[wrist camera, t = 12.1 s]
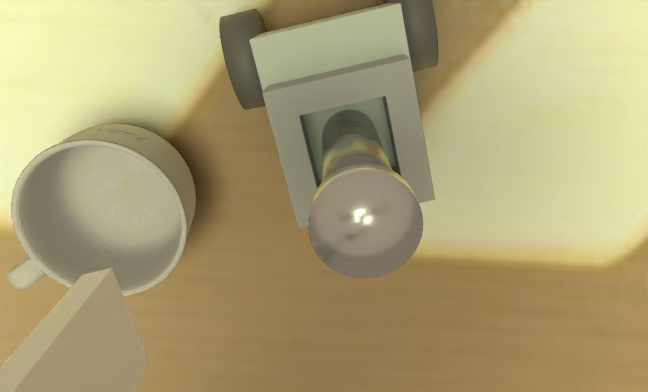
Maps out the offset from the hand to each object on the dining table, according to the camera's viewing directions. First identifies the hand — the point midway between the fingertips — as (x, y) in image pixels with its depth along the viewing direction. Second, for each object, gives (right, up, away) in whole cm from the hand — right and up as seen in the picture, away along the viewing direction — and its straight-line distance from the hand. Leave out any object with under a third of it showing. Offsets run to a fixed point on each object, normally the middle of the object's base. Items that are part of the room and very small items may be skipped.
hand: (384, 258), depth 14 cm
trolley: (0, +9, +26) cm, 28 cm away
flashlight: (0, +5, +17) cm, 18 cm away
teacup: (-17, +2, +29) cm, 34 cm away
